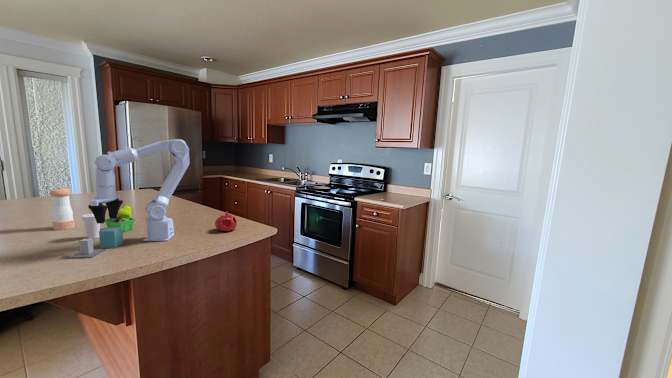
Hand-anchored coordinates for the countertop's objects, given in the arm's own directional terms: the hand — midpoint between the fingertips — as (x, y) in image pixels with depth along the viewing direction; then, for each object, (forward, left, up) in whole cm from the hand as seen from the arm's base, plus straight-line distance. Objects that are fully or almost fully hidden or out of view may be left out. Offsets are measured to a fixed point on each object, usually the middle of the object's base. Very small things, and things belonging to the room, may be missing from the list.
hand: (107, 220), depth 107 cm
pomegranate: (-40, -19, -10) cm, 45 cm away
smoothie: (+12, -11, -10) cm, 19 cm away
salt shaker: (+33, -26, -10) cm, 43 cm away
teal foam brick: (-1, 0, -10) cm, 10 cm away
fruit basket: (+7, -22, -10) cm, 25 cm away
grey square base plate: (+2, +9, -10) cm, 14 cm away
